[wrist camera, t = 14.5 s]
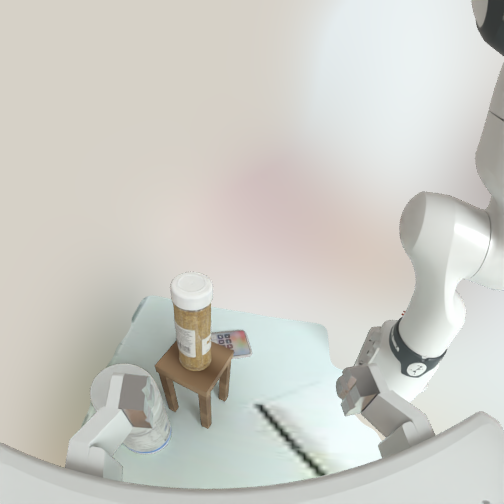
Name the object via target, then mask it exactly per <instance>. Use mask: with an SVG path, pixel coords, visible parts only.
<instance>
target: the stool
mask: <svg viewBox="0 0 504 504" xmlns="http://www.w3.org/2000/svg"><path fill="white" fill-rule="evenodd" d="M233 354H234V350H231V349H229V348H226V347H224V346H222V345H219V344H217V343H215V342H212V341H211V355H212V360H211V363H210V364H209V366H208V367H207V368H205V369H203V370H201V371H191V370H188V369H186V368H185V367H183V366H182V364H181V363H180V361H179V348H178V344H177V340H176V341H175V343H174V344H173V345H172V346H171V347H170V348H169V350H168V351H167V352H166V353H165V354H164V355H163V357H162V358H161V359H160V360H159V361H158V362H157V364H156V365H155V368H156V372H158V373H159V375H160V379H161V382H162V386H163V389H164V393H165V396H166V399H167V403H168V406H169V409H171V410H172V411H174V412H176V410H177V409H178V408H179V406H178V402H177V398H176V394H175V389H174V385H173V381H174V382H176V383H178V384H180V385H182V386H184V387H186V388H188V389H190V390H192V391H194V392H196V393H198V397H199V407H200V416H201V424H202V426H203V427H205V428H207V429H208V428H209V427H210V425H211V395H210V392H211V391H212V389H213V387H214V386H215V384H216V383H217V381H218V380H219V399H221V400H223V401H226V399H227V397H228V390H229V378H230V367H231V359H232V358H233ZM219 378H220V379H219ZM172 380H173V381H172Z"/></svg>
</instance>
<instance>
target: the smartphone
mask: <svg viewBox="0 0 504 504" xmlns="http://www.w3.org/2000/svg"><path fill="white" fill-rule="evenodd" d="M176 340H177V338H176ZM211 341H212V342H215V343H217V344H219V345H222V346H224V347H226V348H229V349H231V350H234V354H233V358H232V359H238V358H246V357H250V356H251V355H252V350H251V347H250V343H249V341H248V337H247V334H246V332H245V331H243V330H237V331H226V332H216V333H211Z"/></svg>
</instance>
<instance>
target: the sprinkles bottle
mask: <svg viewBox="0 0 504 504" xmlns="http://www.w3.org/2000/svg"><path fill="white" fill-rule="evenodd" d="M170 287H171V299H172V302H173V305H174V320H175V329H176V337H177V344H178V348H179V361H180V363H181V364H182V366H183V367H185V368H186V369H188V370H191V371H201V370H203V369H205V368H207V367H208V366H209V364H210V363H211V360H212V355H211V301H212V299H213V284H212V281H211V280H210V278H209V277H207V276H206V275H204V274H202V273H198V272H185V273H182V274H179V275H178V276H176V277H175V278H174V279H173V280H172V282H171V286H170Z"/></svg>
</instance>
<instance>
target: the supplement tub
mask: <svg viewBox="0 0 504 504" xmlns="http://www.w3.org/2000/svg"><path fill="white" fill-rule="evenodd" d="M113 372H116V373H126V374H134V375H146V376H150V379H151V385H153V388H154V394H155V402H154V406H153V408H152V409H151V410H152V412H153V415H154V416H153V429H152V428H139V427H133V429H132V431H131V432H130V433H129V435H128V436H127V437H126V439H125V440H124V441H123V444H124V445H125V446H126V447H127V448H128V449H129V450H131V451H133V452H136V453H139V454H153V453H156V452H159V451H160V450H162V449H163V448H164V447H165V446H166V445H167V444H168V443H169V441H170V438H171V434H172V429H171V424H170V421H169V418H168V415H167V412H166V409H165V406H164V403H163V400H162V397H161V394H160V391H159V388H158V386H157V384H156V382H155V380H154V379H153V377H152V376H151V375H150V374H149V373H148V372H147V371H146V370H144V369H143V368H141V367H139V366H136V365H133V364H127V363H121V364H115V365H111V366H109V367H107V368H105V369H104V370H102V371H101V372H100V373H99V374H98V375H97V376H96V377H95V379H94V380H93V382H92V385H91V389H90V397H91V402H92V405H93V407H94V408H95V411H96V412H97V411H98V410H99V409H100V408H101V407H102V406H104V407H105V406H106V400H107V395H108V390H109V385H110V380H111V376H112V374H113Z"/></svg>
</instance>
